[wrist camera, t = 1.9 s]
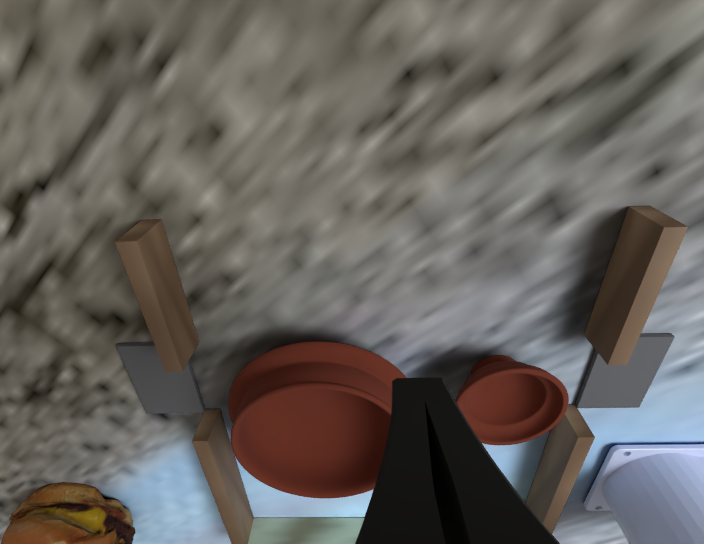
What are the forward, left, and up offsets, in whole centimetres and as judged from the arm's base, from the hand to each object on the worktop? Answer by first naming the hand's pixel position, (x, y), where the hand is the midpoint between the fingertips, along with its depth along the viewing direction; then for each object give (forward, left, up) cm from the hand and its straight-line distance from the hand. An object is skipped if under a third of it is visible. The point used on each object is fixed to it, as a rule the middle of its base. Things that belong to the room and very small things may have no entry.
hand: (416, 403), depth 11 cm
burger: (+26, +26, -11) cm, 38 cm away
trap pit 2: (-14, +10, -10) cm, 20 cm away
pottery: (0, +10, -11) cm, 15 cm away
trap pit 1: (+14, +10, -10) cm, 20 cm away
